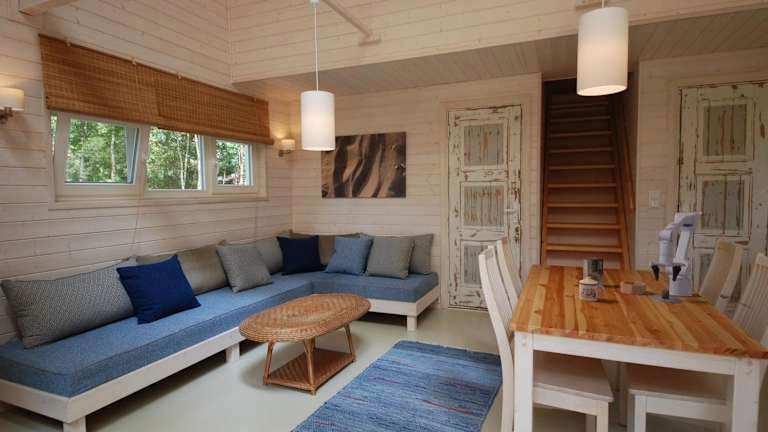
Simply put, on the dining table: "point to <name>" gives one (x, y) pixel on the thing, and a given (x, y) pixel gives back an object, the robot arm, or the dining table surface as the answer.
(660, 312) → the dining table surface
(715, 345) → the dining table surface
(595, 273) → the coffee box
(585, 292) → the teacup with lid
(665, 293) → the lid
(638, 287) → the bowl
